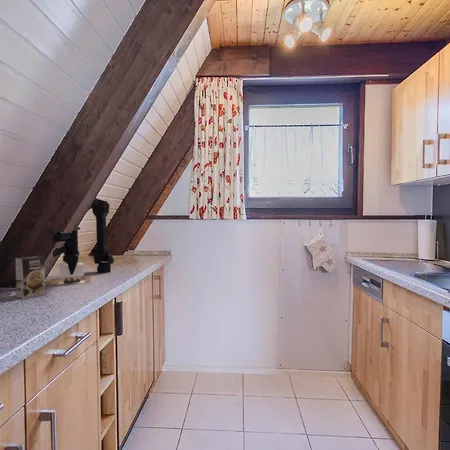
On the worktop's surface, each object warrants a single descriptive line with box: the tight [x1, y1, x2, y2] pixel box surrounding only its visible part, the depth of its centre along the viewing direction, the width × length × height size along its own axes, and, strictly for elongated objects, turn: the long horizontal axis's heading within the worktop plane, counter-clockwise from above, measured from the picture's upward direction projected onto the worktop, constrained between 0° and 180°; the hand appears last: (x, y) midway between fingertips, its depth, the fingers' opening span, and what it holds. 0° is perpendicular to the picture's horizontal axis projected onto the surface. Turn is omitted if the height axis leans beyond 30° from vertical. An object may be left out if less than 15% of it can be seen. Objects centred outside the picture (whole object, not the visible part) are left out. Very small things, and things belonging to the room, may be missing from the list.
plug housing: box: [58, 262, 85, 278], centre depth 164 cm, size 10×5×5 cm, turn 111°
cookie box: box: [15, 255, 46, 300], centre depth 146 cm, size 9×6×16 cm
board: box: [45, 276, 92, 287], centre depth 168 cm, size 20×16×2 cm
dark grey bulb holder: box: [64, 276, 80, 283], centre depth 164 cm, size 7×2×4 cm, turn 111°
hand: (71, 273), depth 164 cm, fingers closed on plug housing, 5 cm apart
